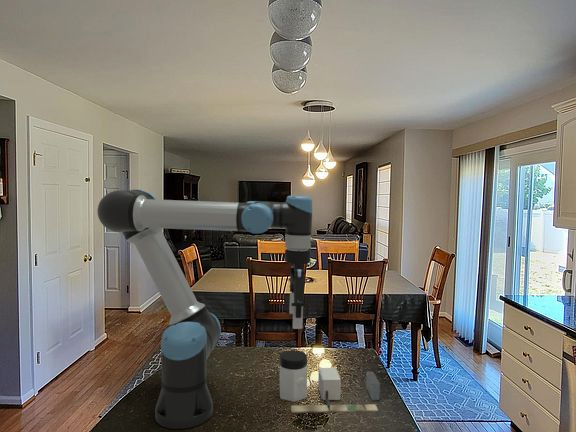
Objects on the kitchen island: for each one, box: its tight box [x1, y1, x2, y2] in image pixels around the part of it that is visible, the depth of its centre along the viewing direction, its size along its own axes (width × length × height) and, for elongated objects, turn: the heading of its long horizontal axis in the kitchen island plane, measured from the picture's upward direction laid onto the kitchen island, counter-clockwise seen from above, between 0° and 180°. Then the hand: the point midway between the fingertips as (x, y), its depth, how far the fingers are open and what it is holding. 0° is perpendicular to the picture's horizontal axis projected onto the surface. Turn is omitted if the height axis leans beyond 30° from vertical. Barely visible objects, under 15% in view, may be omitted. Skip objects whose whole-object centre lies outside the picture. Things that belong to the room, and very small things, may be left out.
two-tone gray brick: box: [365, 371, 381, 401], centre depth 125 cm, size 2×8×5 cm, turn 3°
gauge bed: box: [290, 403, 379, 414], centre depth 116 cm, size 24×3×1 cm, turn 93°
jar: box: [278, 349, 308, 403], centre depth 124 cm, size 9×8×12 cm
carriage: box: [317, 367, 342, 407], centre depth 122 cm, size 5×13×6 cm, turn 3°
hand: (295, 320), depth 123 cm, fingers open, 13 cm apart
